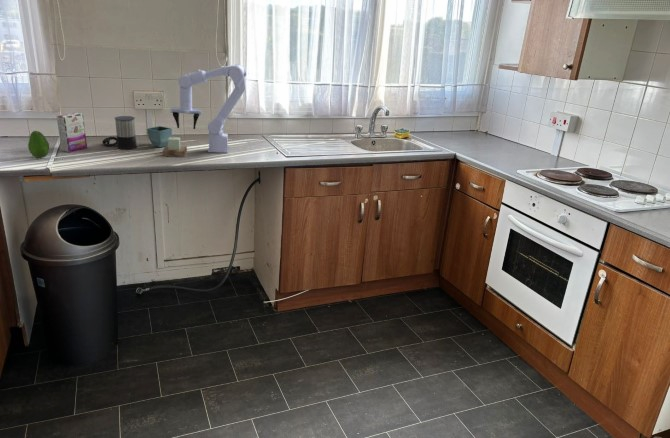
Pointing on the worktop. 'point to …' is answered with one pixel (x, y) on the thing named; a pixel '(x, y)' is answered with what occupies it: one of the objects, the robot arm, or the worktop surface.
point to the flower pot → (159, 135)
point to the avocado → (38, 144)
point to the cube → (174, 143)
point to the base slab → (175, 151)
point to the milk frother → (123, 134)
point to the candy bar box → (72, 132)
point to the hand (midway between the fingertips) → (186, 128)
